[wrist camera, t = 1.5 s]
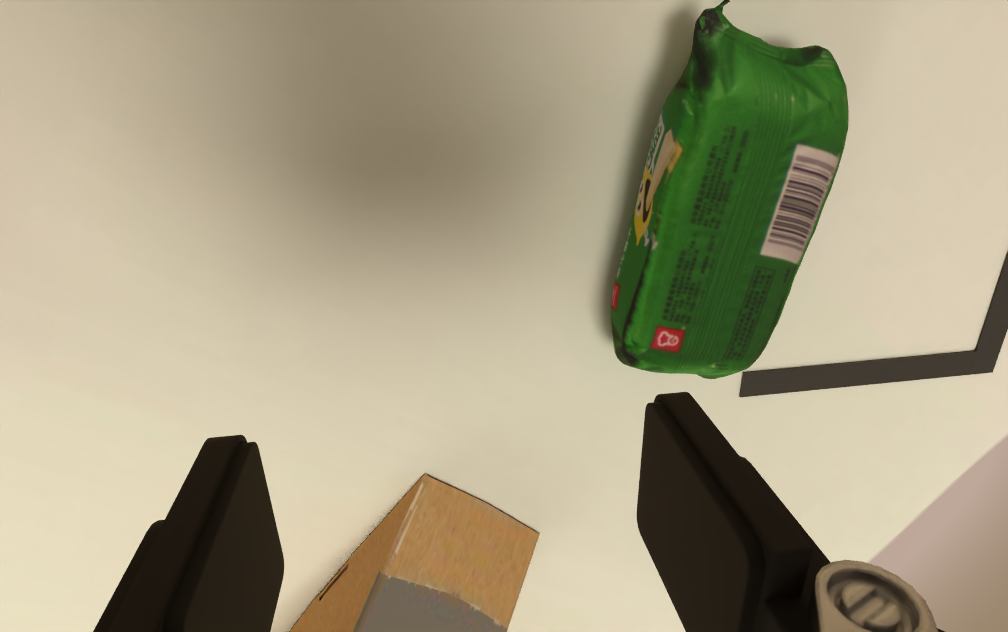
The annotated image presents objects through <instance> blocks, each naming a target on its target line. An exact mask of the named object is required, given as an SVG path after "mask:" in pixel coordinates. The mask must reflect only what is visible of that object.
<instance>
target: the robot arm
mask: <svg viewBox="0 0 1008 632" xmlns="http://www.w3.org/2000/svg"><path fill="white" fill-rule="evenodd" d="M637 523H638V528H639V531H640V534H641V536H642V538H643V540H644V543H645V545H646V547H647V549H648V551H649V553H650V555H651V558H652V560H653V562H654V564H655V566H656V568H657V570H658V573H659V575H660V577H661V579H662V581H663V583H664V585H665V588H666V590H667V592H668V594H669V596H670V598H671V601H672V603H673V605H674V607H675V609H676V611H677V613H678V616H679V618H680V620H681V622H682V624H683V626H684V628H685V631H686V632H944V631H942V630H940V629H938V628H937V627H936V624H935V621H934V618H933V615H932V613H931V611H930V609H929V607H928V605H927V603H926V601H925V600H924V599H923V598H922V596H921V595H920V594H919V593H918V592H917V591H916V590H915V589H914V588H913V587H912V586H911V585H909V584H908V583H907V582H905V581H904V580H902V579H901V578H900V577H898V576H897V575H895V574H893V573H891V572H889V571H887V570H885V569H883V568H881V567H878V566H875V565H872V564H868V563H865V562H860V561H851V560H843V561H836V562H830V561H829V560H828V559H827V557H826V556H825V555H824V554H823V553H822V551H821V550H820V549H819V548H818V546H817V545H816V544H815V543H814V541H813V540H812V539H811V538H810V536H809V535H808V534H807V533H806V531H805V530H804V529H803V528H802V526H801V525H800V524H799V523H798V521H797V520H796V519H795V518H794V516H793V515H792V514H791V513H790V512H789V510H788V509H787V508H786V507H785V505H784V504H783V503H782V502H781V500H780V499H779V498H778V497H777V495H776V494H775V493H774V492H773V490H772V489H771V488H770V487H769V485H768V484H767V483H766V482H765V480H764V479H763V478H762V477H761V475H760V474H759V473H758V472H757V471H756V469H755V468H754V467H753V466H752V464H751V463H750V462H749V461H748V460H747V459H746V458H743V457H741V456H739V455H738V454H737V453H736V451H735V450H734V449H733V448H732V446H731V445H730V444H729V442H728V441H727V440H726V439H725V437H724V436H723V435H722V434H721V432H720V431H719V430H718V429H717V427H716V426H715V425H714V423H713V422H712V421H711V420H710V418H709V417H708V416H707V415H706V413H705V412H704V411H703V410H702V408H701V407H700V406H699V405H698V403H697V402H696V401H695V399H694V398H693V397H692V396H691V395H690V394H689V393H688V392H679V393H669V394H659V395H657V396H656V398H655V400H654V403H648V404H647V406H646V410H645V421H644V433H643V445H642V457H641V469H640V480H639V492H638V504H637ZM283 574H284V558H283V553H282V548H281V544H280V540H279V535H278V531H277V527H276V522H275V518H274V514H273V509H272V505H271V500H270V496H269V492H268V487H267V483H266V479H265V474H264V470H263V466H262V461H261V457H260V453H259V449H258V445H257V444H256V443H255V442H248V443H247V441H246V439H245V437H244V436H243V435H235V436H225V437H214V438H208V439H207V440H206V441H205V443H204V445H203V446H202V448H201V450H200V452H199V454H198V456H197V458H196V460H195V462H194V464H193V466H192V468H191V470H190V472H189V474H188V476H187V478H186V480H185V482H184V484H183V485H182V487H181V489H180V491H179V493H178V495H177V497H176V499H175V501H174V503H173V505H172V507H171V509H170V511H169V513H168V515H167V517H166V519H165V520H159V521H156V522H155V523H153V524H152V525H151V527H150V528H149V529H148V531H147V532H146V534H145V536H144V538H143V540H142V542H141V544H140V545H139V547H138V549H137V551H136V553H135V555H134V557H133V559H132V560H131V562H130V564H129V566H128V568H127V570H126V572H125V573H124V575H123V577H122V579H121V581H120V583H119V585H118V586H117V588H116V590H115V592H114V594H113V596H112V598H111V600H110V601H109V603H108V605H107V607H106V609H105V611H104V613H103V614H102V616H101V618H100V620H99V622H98V624H97V626H96V627H95V629H94V631H93V632H270V631H271V626H272V622H273V618H274V614H275V609H276V605H277V601H278V597H279V593H280V588H281V584H282V580H283Z"/></svg>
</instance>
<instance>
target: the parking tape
mask: <svg viewBox="0 0 1008 632" xmlns="http://www.w3.org/2000/svg"><path fill="white" fill-rule="evenodd" d="M1007 329H1008V254H1007V257H1006V260H1005V263H1004V266H1003V269H1002V272H1001V275H1000V278H999V281H998V284H997V287H996V290H995V293H994V296H993V299H992V302H991V305H990V308H989V311H988V314H987V317H986V320H985V323H984V326H983V329H982V332H981V335H980V338H979V341H978V344H977V347H976V350H975V351H967V352H956V353H945V354H935V355H924V356H913V357H903V358H892V359H881V360H871V361H860V362H850V363H839V364H828V365H818V366H807V367H796V368H786V369H775V370H764V371H754V372H743V377H742V384H741V390H740V397H748V396H758V395H768V394H778V393H788V392H798V391H808V390H819V389H829V388H839V387H849V386H859V385H869V384H879V383H889V382H899V381H910V380H920V379H930V378H940V377H950V376H960V375H970V374H980V373H990V372H993V369H994V367H995V364H996V361H997V358H998V355H999V352H1000V349H1001V347H1002V344H1003V341H1004V338H1005V335H1006V332H1007Z"/></svg>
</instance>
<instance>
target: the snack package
mask: <svg viewBox="0 0 1008 632" xmlns="http://www.w3.org/2000/svg"><path fill="white" fill-rule="evenodd" d="M728 2H730V1H729V0H724V1H723V2H722V3H721V4H720V5H718V6H717V7H715V8H711V9H705V10H704V11H703V12H702V14H701V15H700V16H699V18H698V19H697V21H696V24H695V29H694V36H693V46H692V52H691V55H690V59H689V62H688V65H687V66H686V68H685V70H684V72H683V74H682V76H681V78H680V80H679V81H678V83H677V84H676V86H675V87H674V89H673V90H672V92H671V93H670V95H669V97H668V98H667V100H666V102H665V104H664V106H663V109H662V112H661V114H660V117H659V120H658V123H657V126H656V128H655V130H654V133H653V136H652V141H651V146H650V150H649V154H648V158H647V162H646V165H645V169H644V172H643V176H642V180H641V184H640V188H639V192H638V196H637V200H636V204H635V208H634V212H633V215H632V218H631V223H630V227H629V231H628V235H627V239H626V243H625V246H624V250H623V253H622V257H621V261H620V266H619V269H618V273H617V277H616V280H615V284H614V288H613V294H612V303H611V323H612V332H613V342H614V350H615V353H616V356H617V358H618V359H619V360H620V361H621V362H622V363H623V364H625V365H628V366H630V367H634V368H638V369H641V370H645V371H650V372H659V373H686V374H698V375H699V376H701V377H703V378H707V379H716V378H720V377H725V376H728V375H731V374H734V373H737V372H740V371H742V370H745V369H747V368H749V367H750V366H751V365H752V364H753V363H754V362H755V361H756V360H757V359H758V358H759V356H760V355H761V353H762V352H763V350H764V349H765V347H766V345H767V343H768V341H769V339H770V337H771V335H772V332H773V330H774V328H775V327H776V325H777V323H778V321H779V318H780V316H781V313H782V310H783V308H784V305H785V302H786V300H787V297H788V295H789V293H790V290H791V286H792V283H793V280H794V278H795V275H796V273H797V271H798V268H799V266H800V264H801V262H802V259H803V257H804V254H805V252H806V249H807V247H808V245H809V243H810V240H811V238H812V236H813V234H814V232H815V230H816V227H817V224H818V221H819V218H820V215H821V212H822V209H823V207H824V204H825V202H826V199H827V197H828V195H829V192H830V190H831V187H832V184H833V181H834V178H835V176H836V173H837V170H838V167H839V163H840V160H841V156H842V153H843V149H844V145H845V140H846V135H847V130H848V100H847V90H846V85H845V82H844V79H843V77H842V74H841V72H840V70H839V67H838V65H837V63H836V61H835V59H834V58H833V56H832V54H831V52H829V51H828V50H827V49H825V48H822V47H820V46H816V45H815V46H809V47H804V48H784V47H776V46H772V45H770V44H768V43H766V42H764V41H763V40H761V39H760V38H757V37H755V36H752V35H750V34H748V33H746V32H743V31H741V30H739V29H737V28H736V27H734V26H733V25H732V24H731V23H730V22H729V21H728V20H727V19H726V17H725V16H724V15H723V14H722V10H723V6H724V5H726V4H727V3H728Z"/></svg>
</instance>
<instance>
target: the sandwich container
mask: <svg viewBox="0 0 1008 632" xmlns="http://www.w3.org/2000/svg"><path fill="white" fill-rule="evenodd" d="M539 534H540V533H537V532H535V531H533V530H532V529H530V528H528V527H527V526H525V525H523V524H521V523H520V522H518V521H516V520H515V519H513V518H511V517H510V516H508V515H506V514H504V513H503V512H501V511H499V510H498V509H496V508H494V507H493V506H491V505H489V504H487V503H485V502H483V501H481V500H479V499H477V498H475V497H472V496H470V495H468V494H466V493H464V492H462V491H459V490H457V489H455V488H453V487H451V486H448V485H446V484H444V483H442V482H440V481H438V480H435V479H433V478H431V477H429V476H427V475H426V474H424V475H423V476H422V478H421V479H420V480H419V481H418V482H417V483H416V484H415V485H414V486H413V487H412V489H411V490H410V491H409V492H408V493H407V494H406V495H405V496H404V498H403V499H402V500H401V501H400V502H399V503H398V504H397V505H396V506H395V508H394V509H393V510H392V511H391V512H390V513H389V514H388V515H387V516H386V518H385V519H384V520H383V521H382V522H381V523H380V524H379V525H378V526H377V528H376V529H375V530H374V531H373V532H372V533H371V534H370V535H369V536H368V538H367V539H366V540H365V541H364V542H363V543H362V544H361V545H360V546H359V548H358V549H357V550H356V551H355V552H354V553H353V554H352V555H351V557H350V559H349V560H348V561H347V562H346V563H345V565H344V566H343V567H342V568H341V570H340V571H339V572H338V573H337V574H336V576H335V577H334V578H333V579H332V580H331V581H330V583H329V584H328V585H327V586H326V587H325V588H324V590H323V591H322V592H321V593H320V594H319V595H318V596H317V597H316V598H315V599H314V600H313V602H312V603H311V604H310V606H309V607H308V608H307V610H306V611H305V612H304V613H303V615H302V616H301V617H300V619H299V620H298V621H297V623H296V624H295V625H294V627H293V628H292V629H291V630H290V632H507V629H508V626H509V623H510V620H511V617H512V614H513V611H514V608H515V605H516V602H517V599H518V597H519V594H520V591H521V588H522V585H523V582H524V579H525V576H526V573H527V570H528V567H529V564H530V561H531V558H532V555H533V552H534V549H535V546H536V543H537V540H538V537H539Z"/></svg>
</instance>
